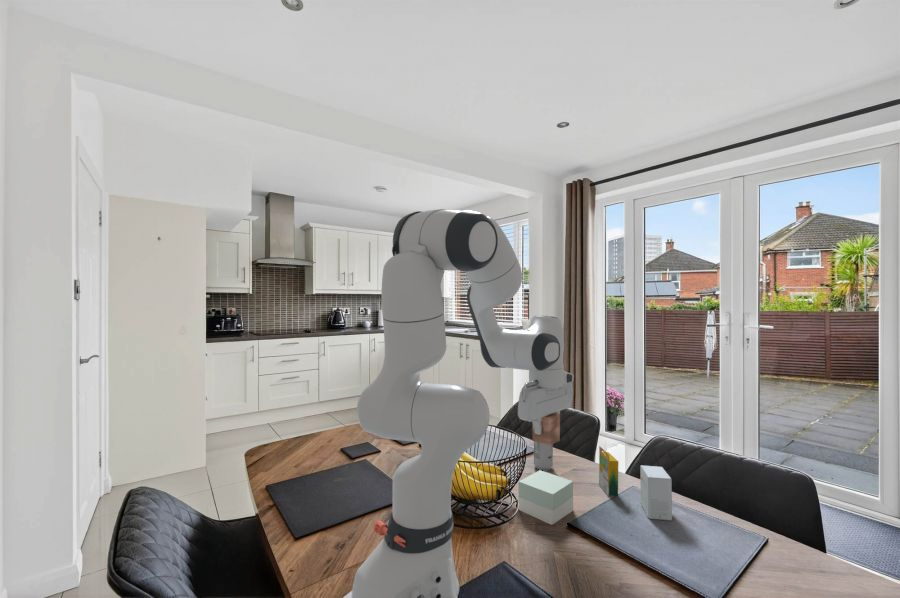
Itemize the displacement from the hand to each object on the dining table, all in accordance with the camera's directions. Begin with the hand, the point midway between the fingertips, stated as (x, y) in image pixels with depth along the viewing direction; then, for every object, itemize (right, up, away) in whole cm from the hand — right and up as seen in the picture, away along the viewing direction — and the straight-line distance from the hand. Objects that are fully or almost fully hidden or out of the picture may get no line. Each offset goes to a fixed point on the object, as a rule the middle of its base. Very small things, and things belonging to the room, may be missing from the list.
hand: (546, 430), depth 108 cm
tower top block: (0, -17, 0) cm, 17 cm away
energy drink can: (+5, -21, +27) cm, 35 cm away
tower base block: (0, -21, 0) cm, 21 cm away
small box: (+28, -21, -1) cm, 35 cm away
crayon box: (+21, -21, +11) cm, 32 cm away
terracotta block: (0, -3, 0) cm, 3 cm away
